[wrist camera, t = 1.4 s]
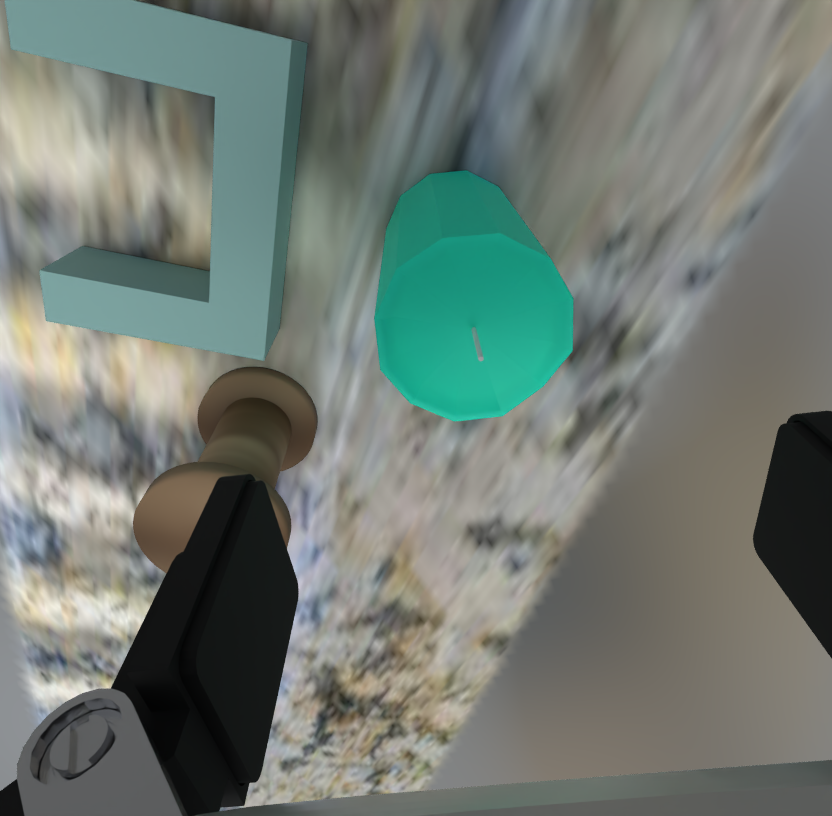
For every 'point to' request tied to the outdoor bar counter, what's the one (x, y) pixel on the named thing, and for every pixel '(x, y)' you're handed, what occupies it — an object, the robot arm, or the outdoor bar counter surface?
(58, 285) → the notch board
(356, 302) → the outdoor bar counter surface
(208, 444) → the bobbin
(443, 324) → the candle
